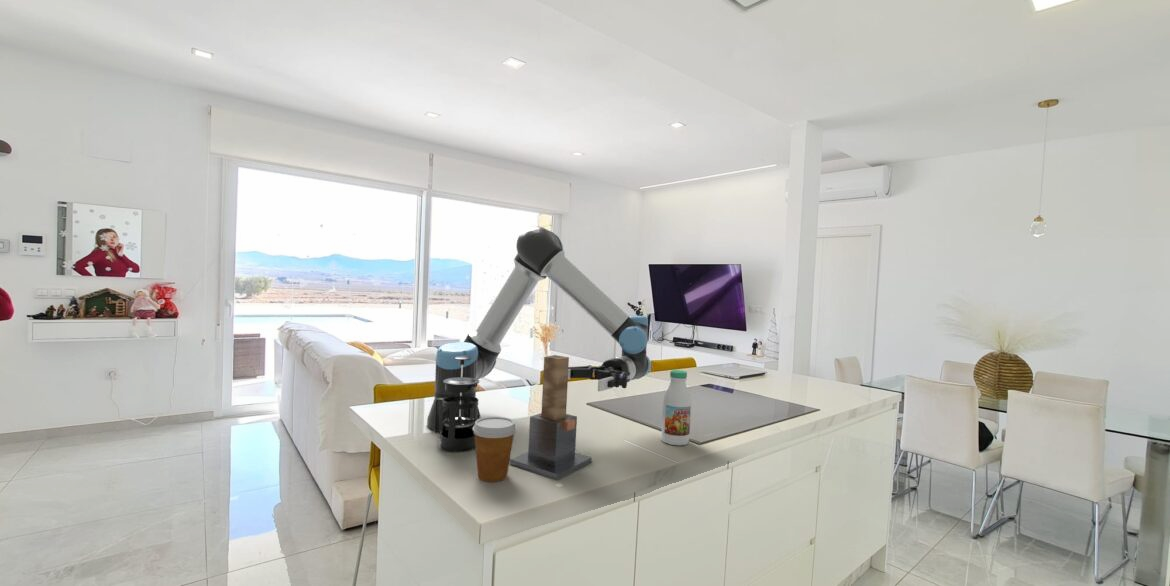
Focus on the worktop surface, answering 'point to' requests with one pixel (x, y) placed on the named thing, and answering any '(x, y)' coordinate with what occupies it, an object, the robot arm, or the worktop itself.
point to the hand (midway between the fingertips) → (576, 381)
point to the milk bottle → (676, 410)
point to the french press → (459, 427)
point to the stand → (552, 448)
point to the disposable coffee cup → (493, 447)
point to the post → (555, 387)
